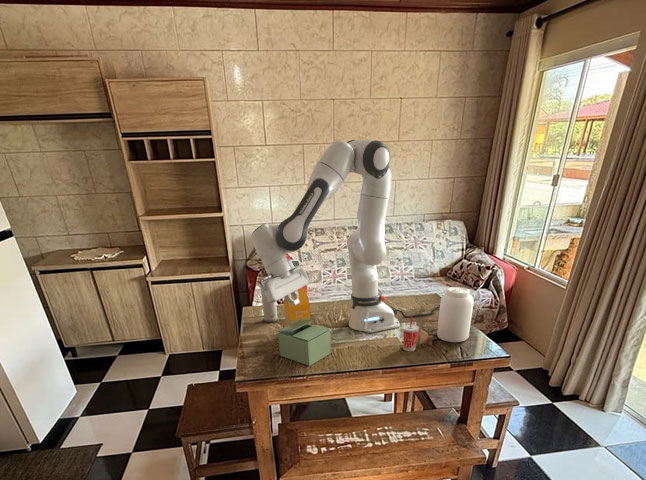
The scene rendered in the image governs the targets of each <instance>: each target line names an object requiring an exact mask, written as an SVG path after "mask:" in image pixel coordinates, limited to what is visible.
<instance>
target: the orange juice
mask: <svg viewBox="0 0 646 480" xmlns="http://www.w3.org/2000/svg"><path fill="white" fill-rule="evenodd" d="M297 291H298V297H299V298H298V299H299V301H300V303H299V304H297V305H296V306H294V307H292V305H291V303H290V302H288V301H287V300H286V299H285V297H283V310H284V322H285V323H284V324H285V327H287V326H289V325H291V324H294V323H296V322H298V321H300V320H312V319H311V308H310V307H311V306H310V304H311V303H310V301H309V297H308V294H307V293H308V292H307V289H306V287H302V288H300V289H298V290H297ZM291 296H292V294H291ZM291 298H292V299H293V300H294V295H293V296H292V297H291ZM311 323H312V322H310V323H308V324H309V325H312V324H311Z"/></svg>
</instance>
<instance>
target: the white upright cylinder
mask: <svg viewBox="0 0 646 480" xmlns="http://www.w3.org/2000/svg"><path fill="white" fill-rule="evenodd" d="M474 303H475V302H474V297H473V296H472V295H471V291H470V289H468V288H467V287H463V286H452V287H449V288H447V290H446V292H445V293H444V294H442V296H441V298H440V301H439V306H440V308H439V312H438V319H437V320H438V321H437V330H436V335H437V336H436V337H438V338H439V339H440V340H442V341H444V342H448V343H461V342H465V341H467V340H468V339H469V337H470V329H471V323H472V318H473V316H472V315H473V310H474Z"/></svg>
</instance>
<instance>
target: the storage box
mask: <svg viewBox="0 0 646 480" xmlns="http://www.w3.org/2000/svg"><path fill="white" fill-rule="evenodd" d="M331 334H332V333H331V328H330V327H326V326H323V325H319V324H313V325H312V324H311V325H309V324H306V325H304V326H302V327H300V328H298V329H296V330H294V331H292V332H277V337H278V338H277V339H278V349H279V356H280V357H283V358H286V359H288V360H291V361H294V362H297V363H300V364H303V365H306V366H308V367H309V366H310V367H311V366H312V365H314V364H315V363H317V362H319V361H321V360H322V359H323V358H325V357H327V356H329V355H330V354H332V337H331Z"/></svg>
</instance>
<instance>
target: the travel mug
mask: <svg viewBox="0 0 646 480" xmlns="http://www.w3.org/2000/svg"><path fill="white" fill-rule="evenodd" d="M261 280H262V278H261V279H260V280H259V287H260V296H261V303H262V310H263V311H262V314H263V320H264V322H266V323H275V322H277V321H278V319H279V318H278V308H277V301H276V302H274V303H269V302H268V301H267V298H266V296H265V293H264V290H263V288H262V286H261ZM262 282H263V281H262Z"/></svg>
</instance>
